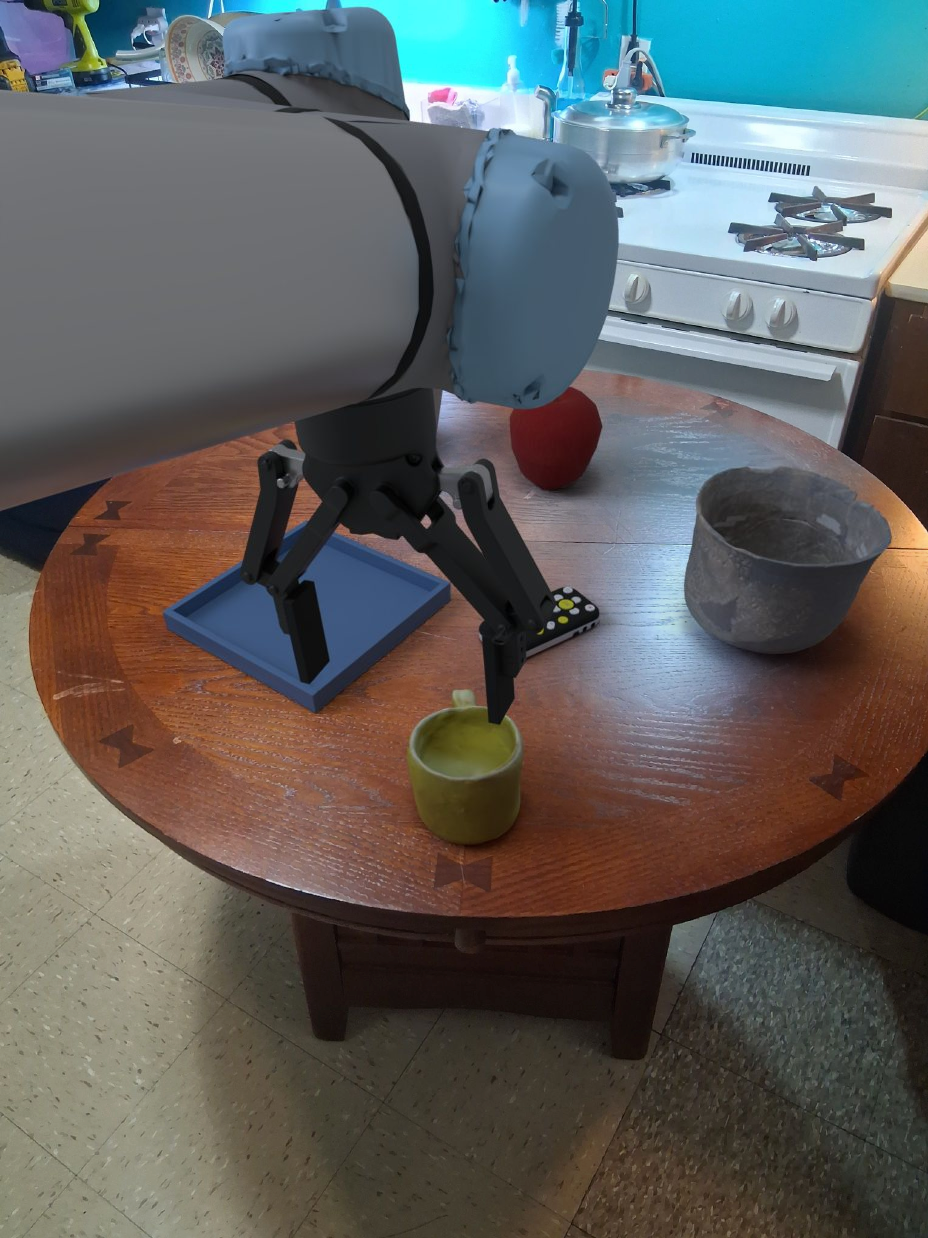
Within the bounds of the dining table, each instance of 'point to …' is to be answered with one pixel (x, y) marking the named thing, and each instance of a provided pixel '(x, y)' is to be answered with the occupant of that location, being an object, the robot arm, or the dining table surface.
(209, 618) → the blue tray
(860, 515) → the grey stone bowl
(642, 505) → the dining table surface
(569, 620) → the remote control
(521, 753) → the mug
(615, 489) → the dining table surface
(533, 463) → the apple
